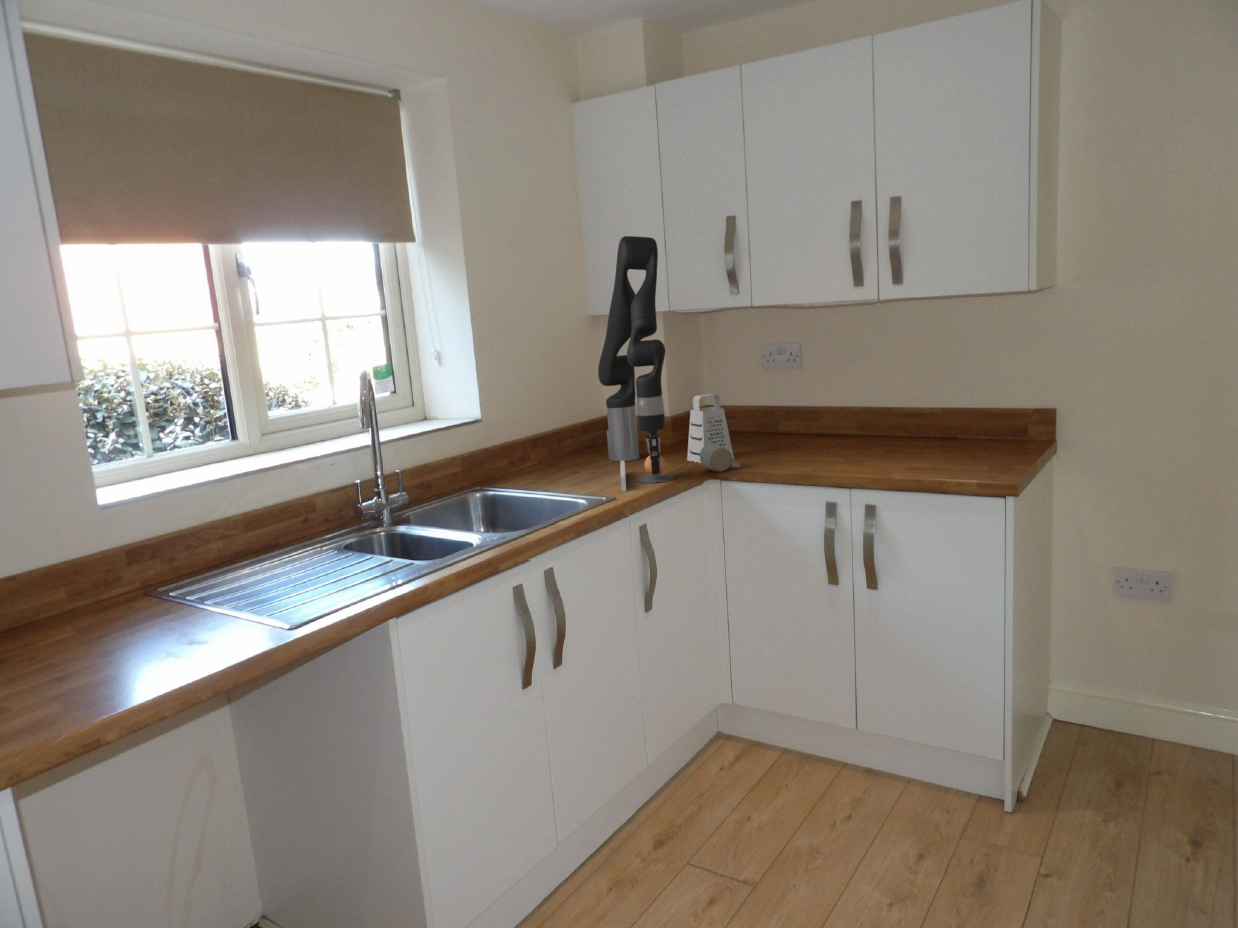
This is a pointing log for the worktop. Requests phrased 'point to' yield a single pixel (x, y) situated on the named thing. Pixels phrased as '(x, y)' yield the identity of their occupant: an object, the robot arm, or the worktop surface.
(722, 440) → the grater
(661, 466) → the ball
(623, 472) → the low wall
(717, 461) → the ceramic mug
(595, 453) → the worktop surface
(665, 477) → the pad
